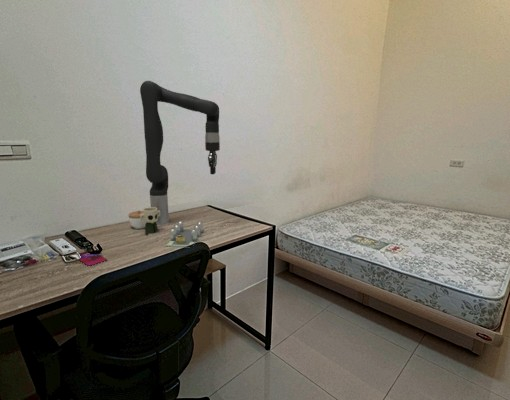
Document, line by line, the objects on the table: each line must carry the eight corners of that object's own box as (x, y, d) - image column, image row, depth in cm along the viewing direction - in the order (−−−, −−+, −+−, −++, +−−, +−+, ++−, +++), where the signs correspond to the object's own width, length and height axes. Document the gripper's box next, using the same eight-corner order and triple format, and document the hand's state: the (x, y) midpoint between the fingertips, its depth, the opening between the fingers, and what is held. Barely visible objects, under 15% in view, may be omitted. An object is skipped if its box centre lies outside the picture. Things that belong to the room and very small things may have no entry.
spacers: (169, 241, 138) (169, 229, 137) (179, 230, 152) (178, 220, 151) (196, 241, 138) (195, 230, 136) (203, 231, 152) (203, 221, 151)
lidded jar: (127, 226, 161) (125, 209, 159) (146, 223, 168) (145, 207, 165) (132, 231, 153) (131, 214, 151) (153, 228, 159) (152, 211, 157)
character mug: (145, 237, 145) (143, 212, 142) (138, 234, 149) (136, 209, 146) (164, 232, 153) (163, 208, 150) (157, 229, 157) (156, 205, 154)
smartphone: (88, 266, 113) (71, 255, 122) (88, 268, 113) (71, 257, 122) (108, 259, 119) (91, 249, 128) (108, 261, 119) (91, 251, 128)
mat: (165, 248, 132) (165, 245, 132) (181, 230, 155) (181, 228, 155) (192, 249, 131) (191, 246, 131) (203, 231, 155) (203, 228, 154)
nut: (176, 244, 134) (176, 238, 133) (175, 241, 138) (175, 235, 137) (185, 243, 135) (185, 237, 134) (184, 240, 139) (184, 234, 139)
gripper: (208, 140, 162) (208, 172, 166) (202, 141, 149) (203, 175, 153) (221, 141, 162) (221, 172, 166) (217, 142, 149) (217, 176, 153)
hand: (213, 173), depth 159 cm, fingers closed
